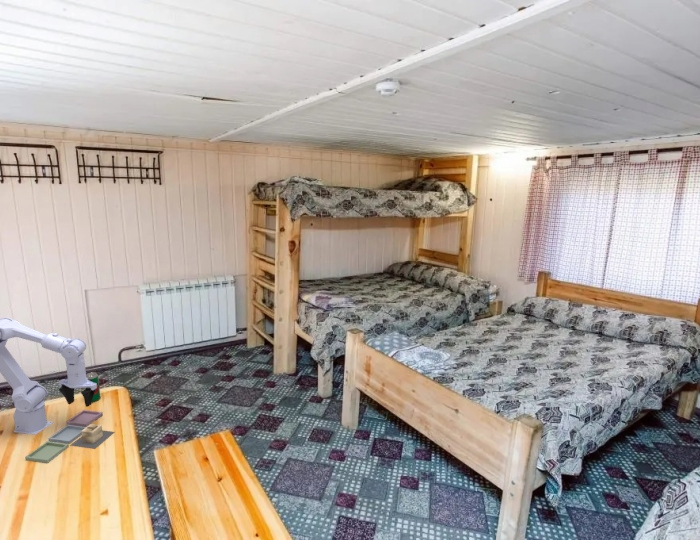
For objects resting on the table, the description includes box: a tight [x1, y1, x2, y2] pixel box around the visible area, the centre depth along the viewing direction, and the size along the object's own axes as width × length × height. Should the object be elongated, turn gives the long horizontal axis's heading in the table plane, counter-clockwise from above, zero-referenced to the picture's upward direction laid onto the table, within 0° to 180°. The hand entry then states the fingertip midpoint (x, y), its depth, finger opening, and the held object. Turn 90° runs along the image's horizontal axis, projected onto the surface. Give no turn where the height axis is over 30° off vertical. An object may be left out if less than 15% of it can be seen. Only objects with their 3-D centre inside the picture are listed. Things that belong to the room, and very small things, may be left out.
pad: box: [69, 429, 116, 450], centre depth 146 cm, size 10×10×1 cm
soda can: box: [84, 371, 101, 403], centre depth 171 cm, size 5×5×12 cm
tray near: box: [24, 440, 70, 464], centre depth 138 cm, size 8×8×2 cm
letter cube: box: [81, 423, 103, 444], centre depth 145 cm, size 4×4×5 cm
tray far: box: [66, 409, 104, 427], centre depth 157 cm, size 8×8×2 cm
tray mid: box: [47, 424, 86, 445], centre depth 147 cm, size 8×8×2 cm
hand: (79, 404), depth 152 cm, fingers open, 7 cm apart
